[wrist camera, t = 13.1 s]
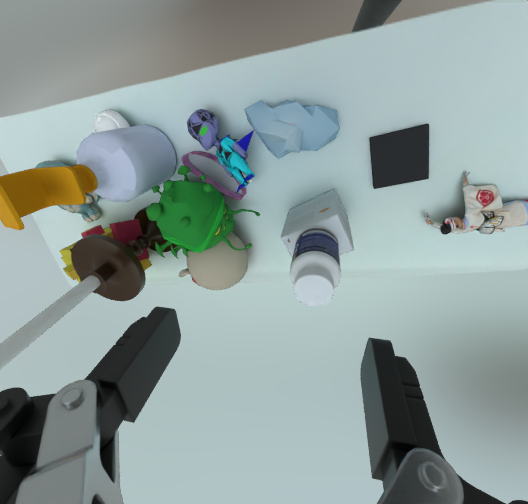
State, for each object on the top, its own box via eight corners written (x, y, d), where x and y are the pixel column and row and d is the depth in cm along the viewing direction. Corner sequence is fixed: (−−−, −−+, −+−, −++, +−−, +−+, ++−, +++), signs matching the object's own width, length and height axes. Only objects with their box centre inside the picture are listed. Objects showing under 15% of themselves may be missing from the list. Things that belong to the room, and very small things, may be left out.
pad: (369, 137, 37) (370, 138, 36) (427, 123, 35) (429, 124, 34) (373, 187, 40) (374, 189, 40) (426, 177, 38) (428, 178, 37)
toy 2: (174, 294, 39) (196, 308, 48) (251, 264, 40) (259, 283, 49) (159, 236, 43) (182, 260, 52) (230, 210, 44) (241, 237, 53)
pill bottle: (291, 228, 35) (280, 271, 26) (335, 221, 33) (337, 264, 25) (300, 264, 37) (292, 314, 29) (341, 259, 35) (345, 310, 27)
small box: (303, 237, 46) (297, 271, 38) (288, 208, 44) (278, 237, 36) (349, 218, 43) (355, 251, 34) (335, 187, 41) (337, 213, 32)
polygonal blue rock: (258, 150, 43) (243, 162, 39) (250, 99, 39) (233, 107, 35) (342, 150, 38) (334, 164, 34) (344, 90, 34) (335, 99, 30)
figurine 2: (247, 270, 39) (222, 235, 30) (156, 258, 43) (110, 225, 34) (265, 196, 43) (248, 147, 34) (182, 192, 48) (148, 147, 38)
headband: (253, 179, 43) (250, 184, 41) (242, 198, 45) (239, 204, 44) (193, 140, 42) (187, 143, 40) (184, 162, 44) (178, 166, 42)
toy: (62, 247, 39) (29, 252, 47) (102, 303, 43) (64, 298, 51) (139, 209, 48) (99, 219, 57) (166, 257, 52) (125, 260, 61)
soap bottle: (183, 181, 46) (62, 255, 25) (135, 183, 48) (-15, 253, 27) (169, 122, 41) (8, 152, 20) (117, 127, 43) (-78, 158, 22)
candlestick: (121, 219, 52) (-154, 386, 22) (157, 190, 47) (-128, 352, 18) (159, 262, 55) (-34, 457, 26) (197, 239, 51) (14, 444, 21)
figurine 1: (232, 201, 40) (176, 136, 39) (257, 182, 43) (206, 121, 42) (250, 178, 34) (185, 102, 33) (277, 158, 37) (218, 87, 36)
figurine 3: (553, 162, 35) (429, 173, 37) (571, 224, 33) (439, 232, 35) (517, 184, 41) (411, 192, 43) (530, 237, 39) (419, 243, 41)
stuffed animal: (62, 241, 50) (0, 186, 44) (86, 220, 56) (34, 168, 49) (102, 224, 47) (40, 160, 40) (123, 202, 52) (71, 143, 45)
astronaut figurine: (101, 168, 48) (85, 173, 46) (98, 98, 41) (79, 100, 38) (138, 195, 47) (123, 201, 45) (143, 129, 39) (126, 132, 37)
